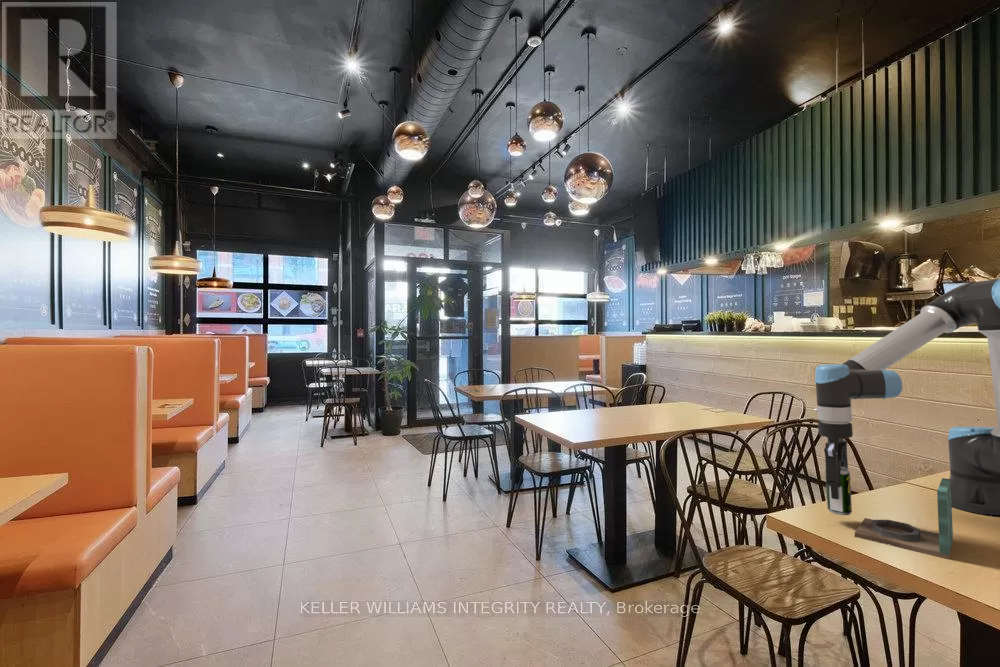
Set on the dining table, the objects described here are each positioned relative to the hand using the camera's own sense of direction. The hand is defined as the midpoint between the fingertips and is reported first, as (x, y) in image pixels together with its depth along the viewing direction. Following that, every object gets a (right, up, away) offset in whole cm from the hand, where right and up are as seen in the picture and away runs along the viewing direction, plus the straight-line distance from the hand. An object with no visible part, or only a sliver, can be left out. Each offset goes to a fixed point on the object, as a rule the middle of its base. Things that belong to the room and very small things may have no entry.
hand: (839, 506), depth 123 cm
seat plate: (+8, -4, -10) cm, 14 cm away
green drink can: (0, -2, 0) cm, 1 cm away
